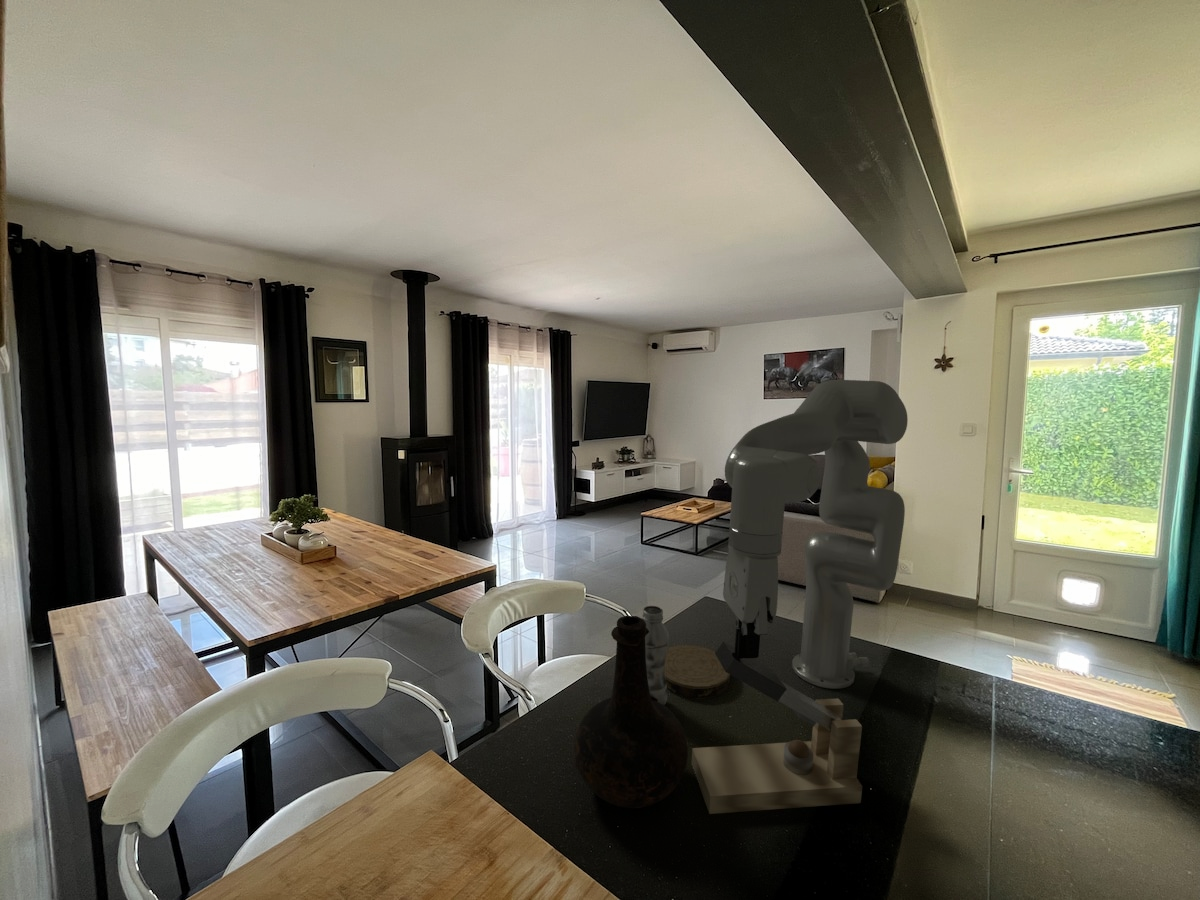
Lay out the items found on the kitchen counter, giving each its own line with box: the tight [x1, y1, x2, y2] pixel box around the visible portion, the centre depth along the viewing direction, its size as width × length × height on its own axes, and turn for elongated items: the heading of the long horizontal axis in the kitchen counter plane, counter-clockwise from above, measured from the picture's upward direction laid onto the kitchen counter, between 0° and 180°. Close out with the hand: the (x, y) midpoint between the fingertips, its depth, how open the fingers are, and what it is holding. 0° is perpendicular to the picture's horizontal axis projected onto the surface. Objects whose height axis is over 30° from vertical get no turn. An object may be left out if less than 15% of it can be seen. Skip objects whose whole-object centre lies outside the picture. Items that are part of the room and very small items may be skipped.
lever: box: [715, 641, 841, 731], centre depth 83 cm, size 23×5×3 cm
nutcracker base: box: [691, 698, 863, 815], centre depth 85 cm, size 24×10×12 cm, turn 96°
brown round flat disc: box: [665, 644, 731, 700], centre depth 114 cm, size 16×16×3 cm
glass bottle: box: [573, 615, 689, 809], centre depth 83 cm, size 18×18×28 cm
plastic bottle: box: [641, 605, 670, 706], centre depth 103 cm, size 6×7×20 cm
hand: (746, 655), depth 81 cm, fingers closed
